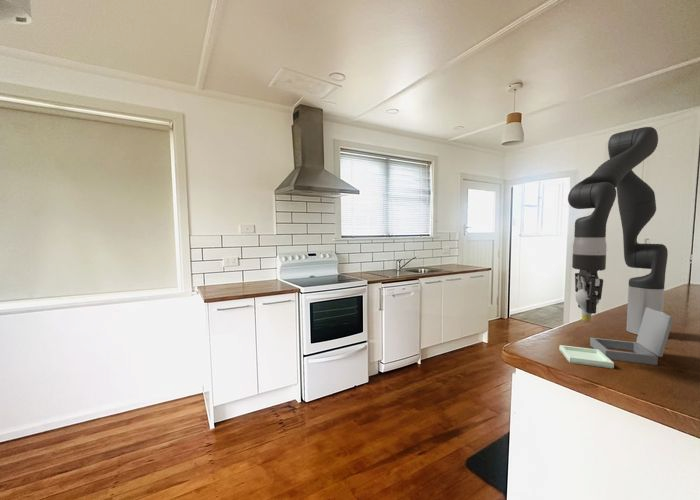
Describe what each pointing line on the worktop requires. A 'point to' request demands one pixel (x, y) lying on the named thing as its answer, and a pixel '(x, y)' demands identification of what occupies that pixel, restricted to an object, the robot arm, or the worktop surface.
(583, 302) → the light bulb
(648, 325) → the lid
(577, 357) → the tray
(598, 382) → the worktop surface
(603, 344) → the case
